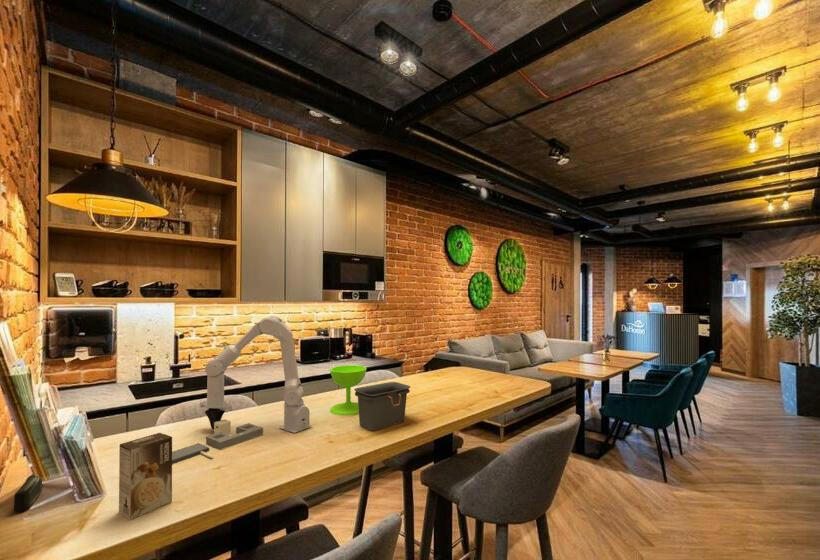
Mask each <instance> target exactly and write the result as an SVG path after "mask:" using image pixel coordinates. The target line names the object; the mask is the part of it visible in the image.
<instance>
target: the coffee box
mask: <svg viewBox="0 0 820 560" xmlns="http://www.w3.org/2000/svg"><path fill="white" fill-rule="evenodd" d="M172 452H173V436H170V435H168V434H166V433H163V432H157V433H154V434H150V435H146V436H143V437H139V438H136V439H132V440H129V441H125V442H123V443H120V444H119V460H118V461H119V466H118V467H119V468H118V470H119V471H118V473H119V474H118V475H119V476H118V483H119V484H118V513H119V514H121V515H122V516H124V517H126V518H127V519H128V520H133V519H136V518H138V517H140V516H143V515H144V514H147V513H149V512H151V511H154V510H156V509H158V508H160V507H162V506H165V505H167V504H170V503H171V502H173V464H172Z"/></svg>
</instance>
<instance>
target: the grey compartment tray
mask: <svg viewBox="0 0 820 560" xmlns="http://www.w3.org/2000/svg"><path fill="white" fill-rule="evenodd" d="M235 432H236V433H235V434H233V435H230V434H228V435H227V434H224V433H221V432H219V433H216V434H214V433H213V434H211V435H207V436H205V444H206V445H208V446H211V447H214V448H215V449H218V450H223V449H226V448H229V447H232V446H235V445H238V444H241V443H243V442H245V441H249V440H251V439H254V438H257V437H260V436H263V435H264V427H261V426H259V425H256V424H252V423H250V422H249V423H246V424H245V423H244V424H242V425H238V426H236V431H235Z"/></svg>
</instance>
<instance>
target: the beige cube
mask: <svg viewBox="0 0 820 560" xmlns="http://www.w3.org/2000/svg"><path fill="white" fill-rule="evenodd" d="M231 425H232V421H231V420H228V419H221V421H217V422H214V429H213V434H216V433H219V432H221V433H224V434H227V435H231V433H232V431H231V430H232V429H231Z"/></svg>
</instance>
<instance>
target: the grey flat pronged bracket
mask: <svg viewBox="0 0 820 560" xmlns="http://www.w3.org/2000/svg"><path fill="white" fill-rule="evenodd" d="M208 452H210V447H208V446H206V445H204V444H202V443H199V442H197V443H196V444H192V445H188V446H186V447H185V446H184V447H183V448H182V447H181V448H180V449H179V448H178V449H177V450H172V465H173V464H176V463H179V462H182V461H185V460H187V458H188V459H191V458H193V457H196V456H200V455H202V456H205V457H207V458H209V459H212V460H213V459H214V455H211V454H209V453H208ZM190 457H191V458H190Z"/></svg>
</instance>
